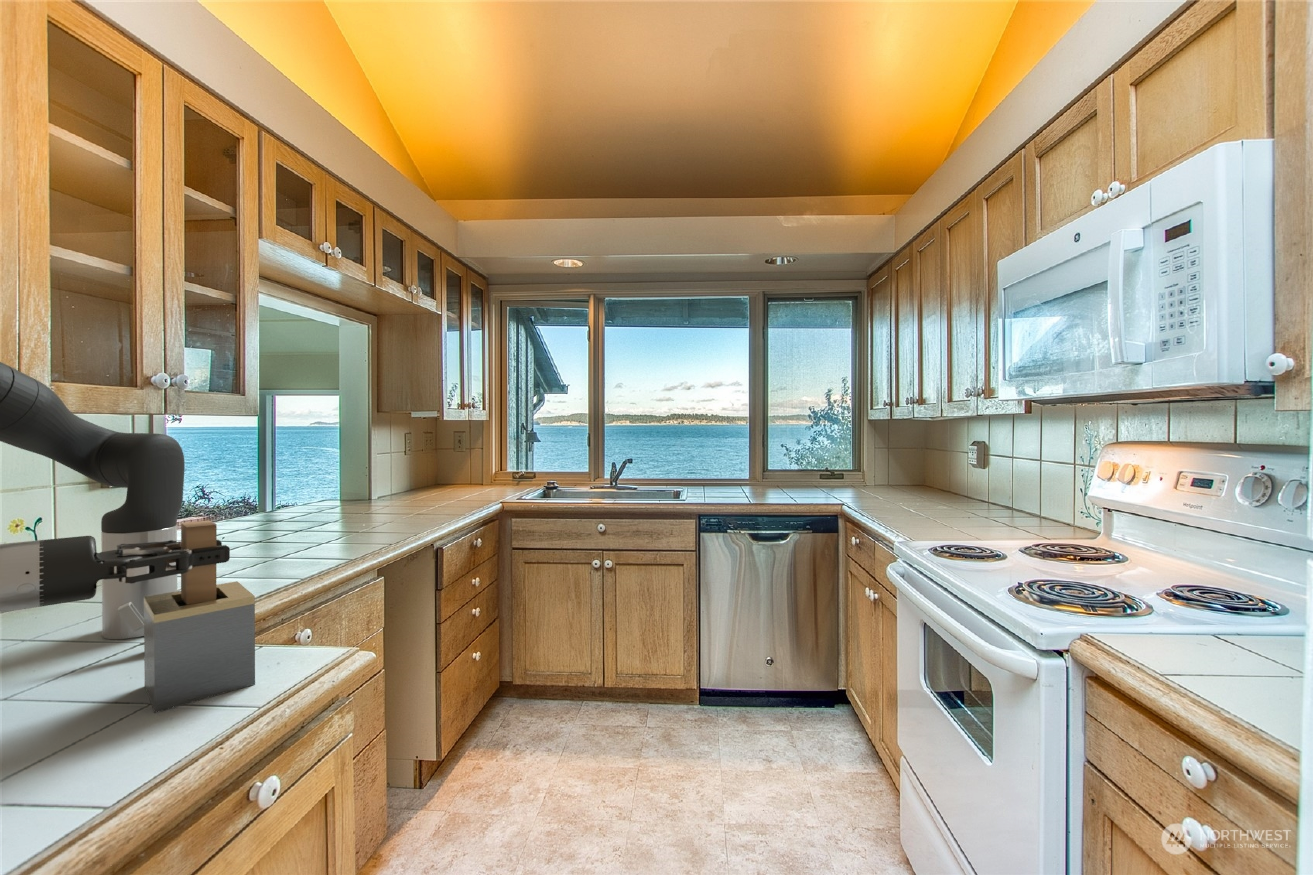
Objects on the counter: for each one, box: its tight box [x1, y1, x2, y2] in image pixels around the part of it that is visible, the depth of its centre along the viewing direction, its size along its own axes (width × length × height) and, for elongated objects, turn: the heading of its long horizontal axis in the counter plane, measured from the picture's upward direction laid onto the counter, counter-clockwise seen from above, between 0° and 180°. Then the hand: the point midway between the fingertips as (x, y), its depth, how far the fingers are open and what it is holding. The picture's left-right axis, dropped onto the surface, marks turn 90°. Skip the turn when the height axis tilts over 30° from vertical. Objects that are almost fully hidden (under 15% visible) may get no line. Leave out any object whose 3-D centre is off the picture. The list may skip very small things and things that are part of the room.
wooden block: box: [180, 520, 218, 605], centre depth 72 cm, size 4×3×10 cm, turn 48°
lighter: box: [118, 602, 144, 632], centre depth 83 cm, size 7×2×8 cm, turn 127°
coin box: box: [143, 581, 256, 714], centre depth 73 cm, size 10×10×12 cm
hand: (224, 550), depth 74 cm, fingers closed on wooden block, 4 cm apart
